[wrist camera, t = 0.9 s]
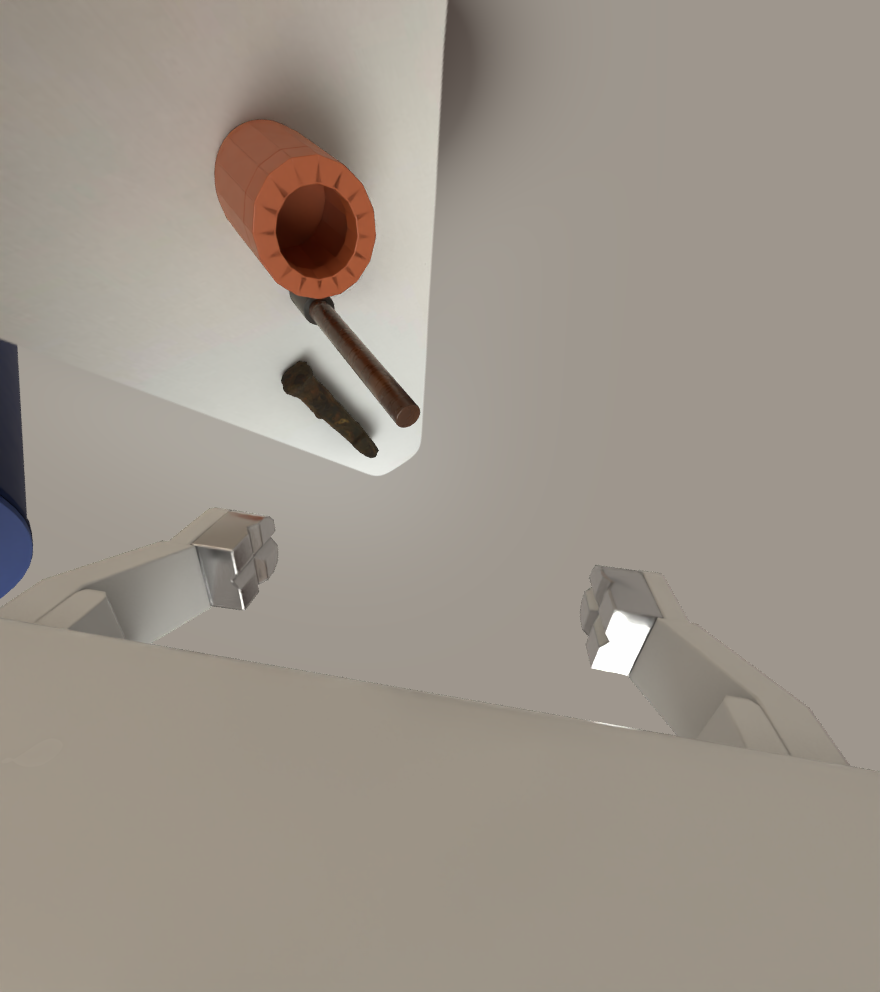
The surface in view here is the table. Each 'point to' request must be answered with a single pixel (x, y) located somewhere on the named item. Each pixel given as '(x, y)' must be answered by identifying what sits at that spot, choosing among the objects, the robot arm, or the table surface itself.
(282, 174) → the terracotta plant pot
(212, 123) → the table surface
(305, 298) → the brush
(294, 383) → the hand tool
